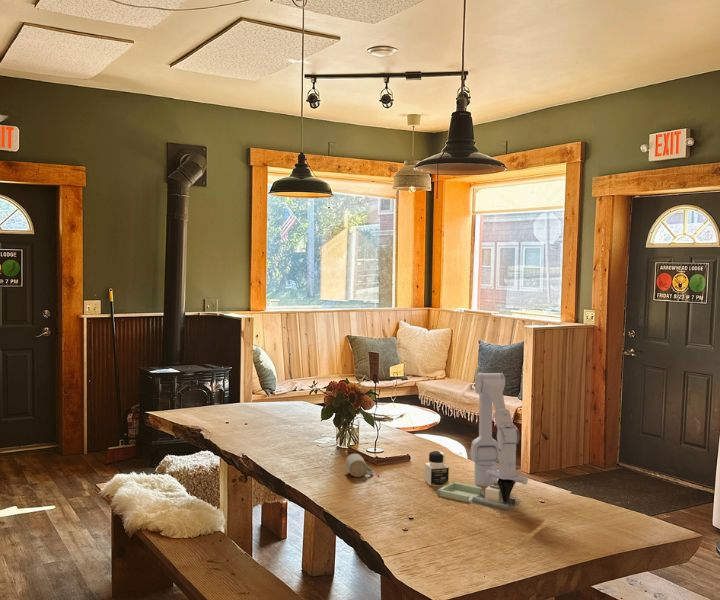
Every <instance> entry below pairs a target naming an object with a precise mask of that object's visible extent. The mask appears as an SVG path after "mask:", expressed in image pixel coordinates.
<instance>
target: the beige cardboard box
mask: <svg viewBox="0 0 720 600" xmlns="http://www.w3.org/2000/svg"><path fill="white" fill-rule="evenodd" d="M484 492H485V499H488V500H492V501H497V502H501V503H503V502H504V501H503V497H502V493H501V490H500V488H499V486H498V485H495V484H493V485H490V486H486V488H485V489H484Z"/></svg>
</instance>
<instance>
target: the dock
mask: <svg viewBox="0 0 720 600" xmlns="http://www.w3.org/2000/svg"><path fill="white" fill-rule="evenodd" d="M467 503H468V504H471V505H478V506H481V507H487V508H490V509H494V510H500V511H504V512H509V511H510V510H512V509H513V508H514V507H516V506H517V505H519V504H520V503H521V501H520V500H517V498H516V497H511V496H510V497H509V500H508V501H504V502H503V503H501V502H497V501H492V500H488V499H485V490H484V491H483V490H482V492H481V494H480V495H478V496H477V497H472V500H470V501H468V502H467Z"/></svg>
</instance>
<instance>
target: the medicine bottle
mask: <svg viewBox="0 0 720 600" xmlns="http://www.w3.org/2000/svg"><path fill="white" fill-rule="evenodd" d="M428 454H429V455H428V462H425V463H424V482H425V483H427V484H428V485H429V486H430V487H440V485H443V486H445V485H447V484H449V474H450V473H449V471H450V467H449V466H448V465H446V454H445V452H443V451H440V450H434V451H433V450H432V451H430V452H429V453H428Z"/></svg>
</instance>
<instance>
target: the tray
mask: <svg viewBox="0 0 720 600" xmlns="http://www.w3.org/2000/svg"><path fill="white" fill-rule="evenodd" d="M482 491H483V487H482V486H477V485H470V484H466V483H461V482H456V481H451V482H448V484H447V485H443V486H441V487H440V488H438V489H437V491H436V497H442V498H447V499H451V500H456V501H460V502H463V503H464V502H465V503H468V501H470V500H472V497H477V496H478V495H480V494H481V492H482Z"/></svg>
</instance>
